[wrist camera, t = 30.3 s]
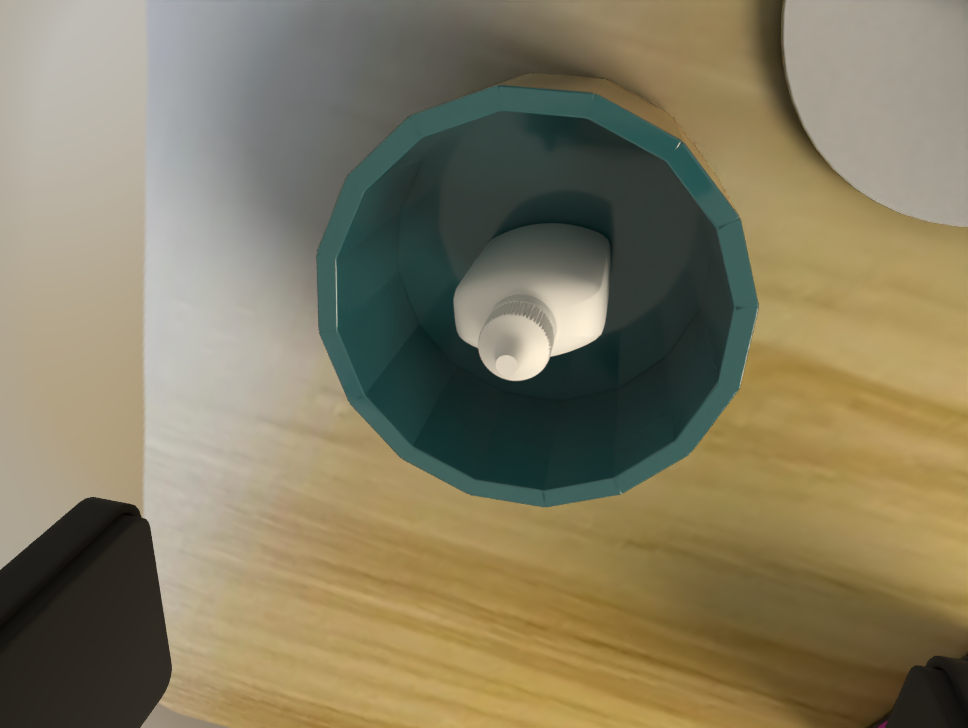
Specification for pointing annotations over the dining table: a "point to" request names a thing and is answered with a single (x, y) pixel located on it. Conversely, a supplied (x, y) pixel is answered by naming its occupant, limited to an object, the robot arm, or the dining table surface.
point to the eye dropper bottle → (534, 297)
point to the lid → (885, 97)
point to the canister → (517, 203)
